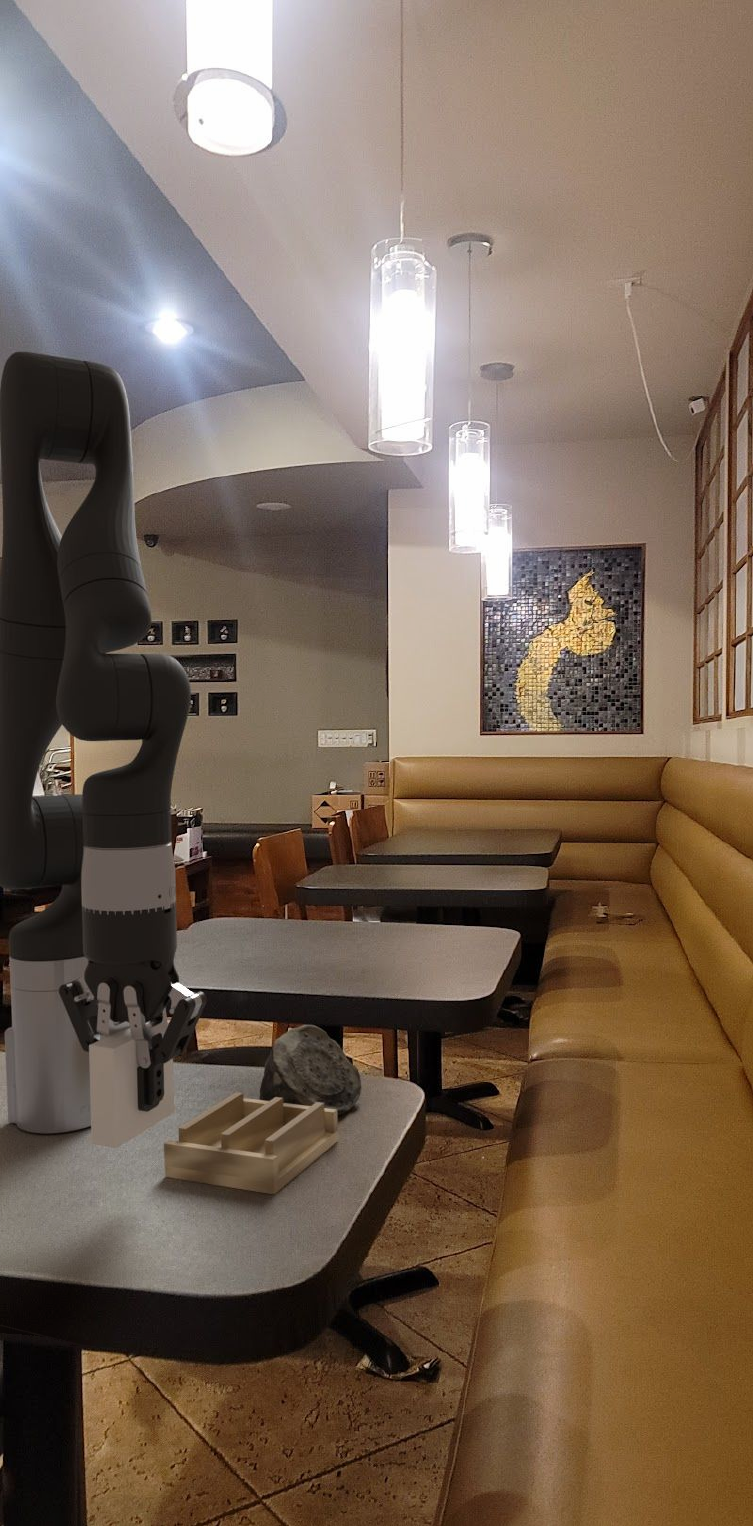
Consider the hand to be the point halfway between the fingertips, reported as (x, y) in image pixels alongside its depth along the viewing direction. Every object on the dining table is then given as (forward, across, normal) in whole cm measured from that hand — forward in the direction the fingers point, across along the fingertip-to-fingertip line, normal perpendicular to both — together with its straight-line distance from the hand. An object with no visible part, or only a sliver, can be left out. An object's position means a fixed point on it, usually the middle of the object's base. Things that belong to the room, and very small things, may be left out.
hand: (134, 1104), depth 89 cm
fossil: (+9, +3, +26) cm, 28 cm away
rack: (+9, +4, +12) cm, 16 cm away
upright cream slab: (+2, 0, 0) cm, 2 cm away
